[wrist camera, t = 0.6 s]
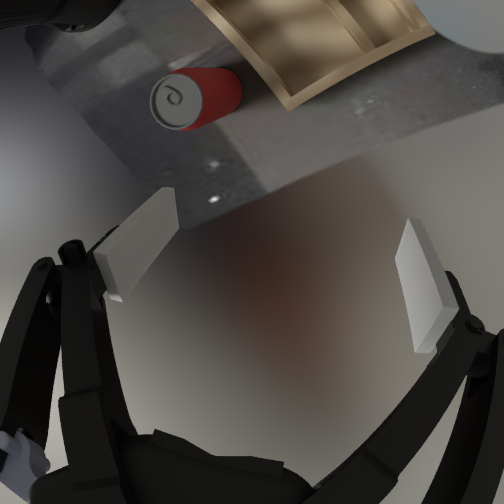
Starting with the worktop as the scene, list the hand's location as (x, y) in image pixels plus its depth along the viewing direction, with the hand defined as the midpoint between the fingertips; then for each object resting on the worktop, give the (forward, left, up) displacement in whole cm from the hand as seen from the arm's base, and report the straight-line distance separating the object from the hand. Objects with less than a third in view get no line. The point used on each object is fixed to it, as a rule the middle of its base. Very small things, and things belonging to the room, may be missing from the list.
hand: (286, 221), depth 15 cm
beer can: (-11, -6, -23) cm, 26 cm away
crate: (-13, +10, -23) cm, 28 cm away
